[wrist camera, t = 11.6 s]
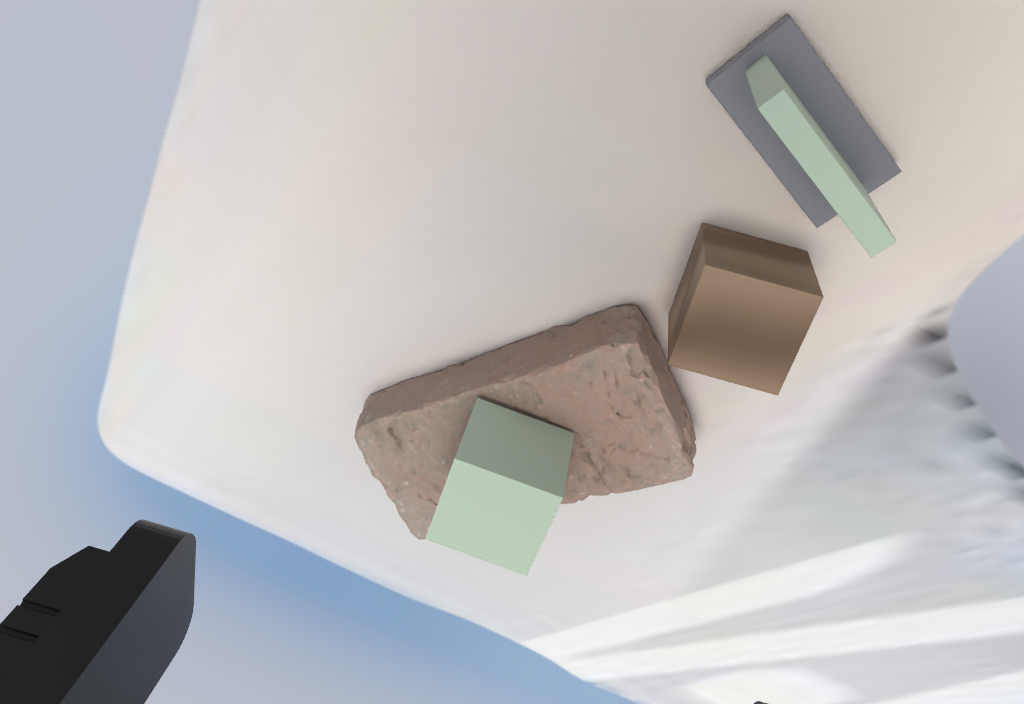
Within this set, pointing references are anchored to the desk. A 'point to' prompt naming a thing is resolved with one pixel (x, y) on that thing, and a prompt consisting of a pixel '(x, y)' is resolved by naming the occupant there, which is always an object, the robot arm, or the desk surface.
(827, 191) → the green and grey bar
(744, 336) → the walnut block
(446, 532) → the green block
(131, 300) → the desk surface
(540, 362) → the brick
